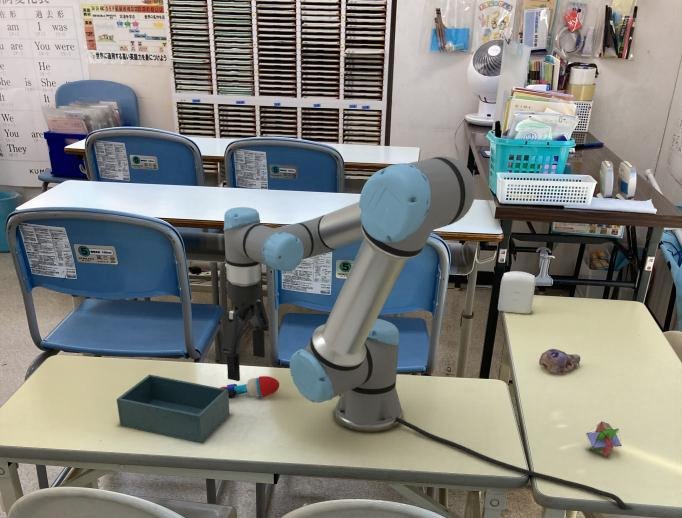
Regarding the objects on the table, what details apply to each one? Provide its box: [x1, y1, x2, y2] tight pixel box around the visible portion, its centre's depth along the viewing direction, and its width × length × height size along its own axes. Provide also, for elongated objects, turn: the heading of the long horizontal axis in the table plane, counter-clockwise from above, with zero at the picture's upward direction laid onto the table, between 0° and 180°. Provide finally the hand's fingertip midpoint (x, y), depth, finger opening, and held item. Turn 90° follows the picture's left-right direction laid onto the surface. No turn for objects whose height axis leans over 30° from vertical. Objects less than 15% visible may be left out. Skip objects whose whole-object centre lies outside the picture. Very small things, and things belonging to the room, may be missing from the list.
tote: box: [116, 374, 231, 444], centre depth 172 cm, size 20×13×7 cm, turn 71°
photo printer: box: [497, 270, 536, 315], centre depth 233 cm, size 10×4×12 cm, turn 78°
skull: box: [538, 348, 581, 375], centre depth 201 cm, size 12×8×6 cm, turn 107°
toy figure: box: [220, 375, 280, 400], centre depth 184 cm, size 8×5×15 cm
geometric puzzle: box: [585, 420, 623, 459], centre depth 165 cm, size 7×7×8 cm
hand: (246, 367), depth 181 cm, fingers open, 13 cm apart
